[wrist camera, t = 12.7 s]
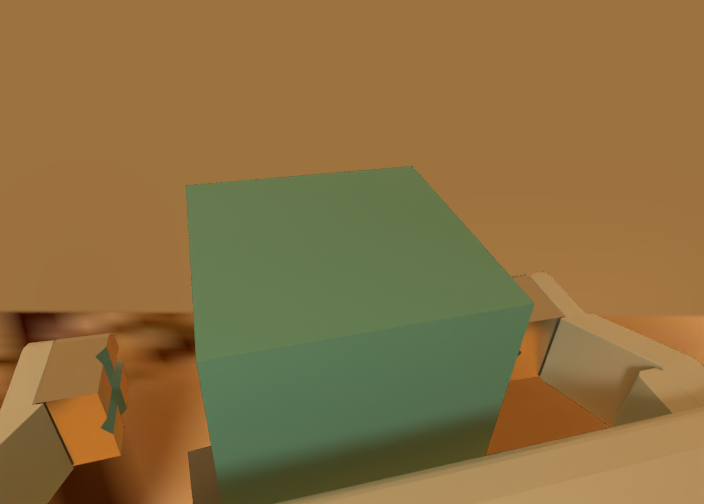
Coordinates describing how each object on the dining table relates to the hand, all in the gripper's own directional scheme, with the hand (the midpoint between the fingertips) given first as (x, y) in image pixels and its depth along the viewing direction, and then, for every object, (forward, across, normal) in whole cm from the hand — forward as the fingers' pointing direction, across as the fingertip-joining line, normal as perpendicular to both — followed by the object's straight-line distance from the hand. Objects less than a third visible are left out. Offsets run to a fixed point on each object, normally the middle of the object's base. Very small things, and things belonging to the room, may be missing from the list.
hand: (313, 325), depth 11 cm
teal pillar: (-1, 0, +7) cm, 7 cm away
